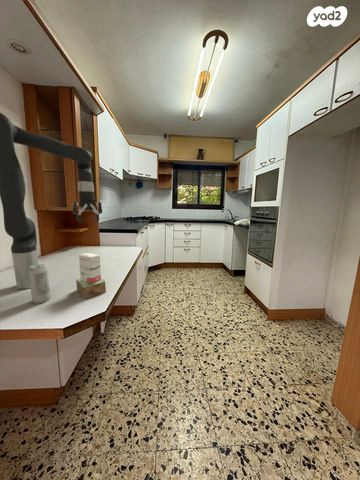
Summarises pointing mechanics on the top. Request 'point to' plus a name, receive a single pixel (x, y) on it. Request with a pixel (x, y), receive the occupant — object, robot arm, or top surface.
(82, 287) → the stand
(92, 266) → the ink box
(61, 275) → the top surface
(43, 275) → the energy drink can
